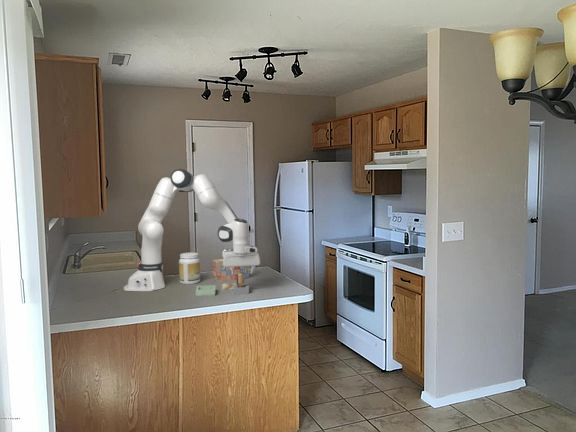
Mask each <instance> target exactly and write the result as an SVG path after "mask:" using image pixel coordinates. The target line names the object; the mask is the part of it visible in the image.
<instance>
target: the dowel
mask: <svg viewBox="0 0 576 432" xmlns="http://www.w3.org/2000/svg"><path fill="white" fill-rule="evenodd" d="M244 285H245V278H244V273H239V274H238V288H239V287H244Z"/></svg>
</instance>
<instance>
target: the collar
mask: <svg viewBox="0 0 576 432" xmlns="http://www.w3.org/2000/svg"><path fill="white" fill-rule="evenodd" d="M233 294H234V295H239V294H242V295H243V294H244V295H245V294H250V285H249V284H244V287H239V288H238V285H234V290H233Z"/></svg>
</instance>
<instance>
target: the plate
mask: <svg viewBox="0 0 576 432" xmlns="http://www.w3.org/2000/svg"><path fill="white" fill-rule="evenodd" d="M234 285H237V282H236V283H235V282H234V283H233V282H232V283H222V284H221V290H222V291H230V290H231V289H234ZM231 291H232V290H231Z"/></svg>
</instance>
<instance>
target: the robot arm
mask: <svg viewBox="0 0 576 432" xmlns="http://www.w3.org/2000/svg"><path fill="white" fill-rule="evenodd" d="M193 191H194V193H195V194H196V196H197V198H198V201H200V204H201V205H202V206H203V207H205V208H207V209H210V210H214V211H217V212H219V213H220V214H221V215H222V217H224V220H225V221H226V222H227V223H226V224H224V225H221V226H219V228H218V229H217V238H218V240H220V241H221V242H222V243H229V242H231V243H232V249H231V248H230V249H227V248H226V249H224V250H223V251H222V252H221V255H222V259H223V266H224V267H230V270H231V271H232V275H234V274H235V271H233V270H232V266H249V267H251V269H249V275H252V274H253V270H254V268H255V267H257V266H260V265H261V257H260V253H259V250H258V247H257V246H254V245H251V244H250V239H249V238H250V229H249V223H248V221H247V220H245V219H244V218H238V216H237V215H236V213H235V212H234V210H233V209H232V208H231V206H230V205H229V203H228V202H227V201H226V199H224V198H223V197H222V195H221V194H220V193H219V191H218V190H217V188H216V186H215V184H214V183H213V181H212V180H211V179H210V177H209V176H208V175H207V174H204V173H200V174H199V173H198V174H197V175H193V173H191V172H190V171H189V170H186V169H182V168H177V169H174V170H173V171H172V172H171V174H170V177H167V176H165V177H162V178H161V179H160V180H159V182H158V183H157V184H156V187H155V189H154V191H153V194H152V196H151V199H150V201H149V204H148V206H147V208H146V209H145V211H144V214H143V215H142V217H141V219H140V221H139V222H138V224H137V225H138V226H137V228H138V232H139V234H140V235H141V236H142V240H141V248H140V255H141V256H140V258H141V259H140V260H141V262H139V263H138V264H137V269H138V270H136V271H135V272H134V273H133V274H131V275H130V276H129V278H128V280H127V284H126V285H125V286H124V287H123V291H126V292H152V291H156V290H161V289H164V288H165V287H166V284H165V280H164V274H163V272H164V265H163V264H164V263H163V260H162V259H163V258H162V245H163V239H164V237H163V235H164V231H165V230H164V226H163V224H162V222H163V220H164V218H165V217H166V216H167V214H168V213H169V210H170V207H171V205H172V202H173V200H174V198H175V195H176V193H177V192H180V193H192V192H193Z"/></svg>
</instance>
